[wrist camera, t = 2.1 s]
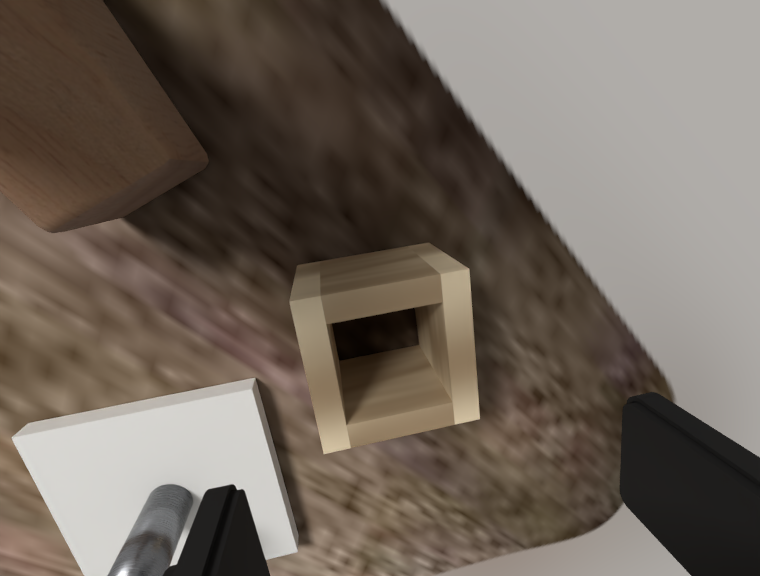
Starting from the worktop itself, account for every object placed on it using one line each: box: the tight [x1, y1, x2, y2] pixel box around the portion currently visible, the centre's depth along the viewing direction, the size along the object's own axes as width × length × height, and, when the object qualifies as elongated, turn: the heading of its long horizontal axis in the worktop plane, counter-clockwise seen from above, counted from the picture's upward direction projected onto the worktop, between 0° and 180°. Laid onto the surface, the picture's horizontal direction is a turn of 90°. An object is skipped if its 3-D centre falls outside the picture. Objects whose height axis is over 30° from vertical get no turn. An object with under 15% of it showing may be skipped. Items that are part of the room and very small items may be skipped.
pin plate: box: [12, 378, 299, 576], centre depth 17 cm, size 10×10×6 cm
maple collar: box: [289, 243, 480, 454], centre depth 16 cm, size 6×6×5 cm
